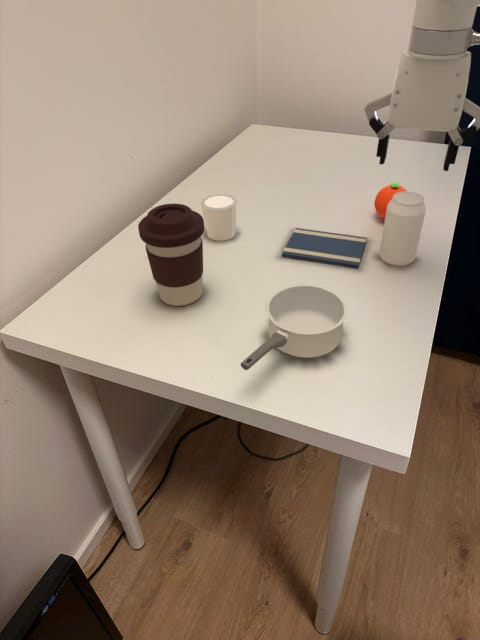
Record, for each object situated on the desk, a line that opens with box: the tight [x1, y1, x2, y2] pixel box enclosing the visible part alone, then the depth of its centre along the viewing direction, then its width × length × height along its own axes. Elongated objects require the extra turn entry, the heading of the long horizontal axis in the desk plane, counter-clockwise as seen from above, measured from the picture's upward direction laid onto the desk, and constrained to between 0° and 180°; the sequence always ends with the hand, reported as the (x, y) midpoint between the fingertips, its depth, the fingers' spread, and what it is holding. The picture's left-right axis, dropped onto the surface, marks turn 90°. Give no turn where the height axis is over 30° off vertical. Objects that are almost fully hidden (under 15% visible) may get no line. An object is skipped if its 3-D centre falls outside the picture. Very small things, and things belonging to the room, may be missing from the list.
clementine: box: [374, 182, 408, 220], centre depth 97 cm, size 8×7×7 cm
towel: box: [281, 227, 368, 270], centre depth 91 cm, size 14×10×1 cm
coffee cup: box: [137, 203, 205, 307], centre depth 77 cm, size 10×10×15 cm
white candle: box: [200, 193, 238, 242], centre depth 95 cm, size 7×7×7 cm
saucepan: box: [240, 283, 348, 371], centre depth 68 cm, size 12×20×6 cm, turn 141°
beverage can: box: [379, 190, 427, 267], centre depth 84 cm, size 6×6×12 cm
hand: (413, 164), depth 76 cm, fingers open, 9 cm apart
